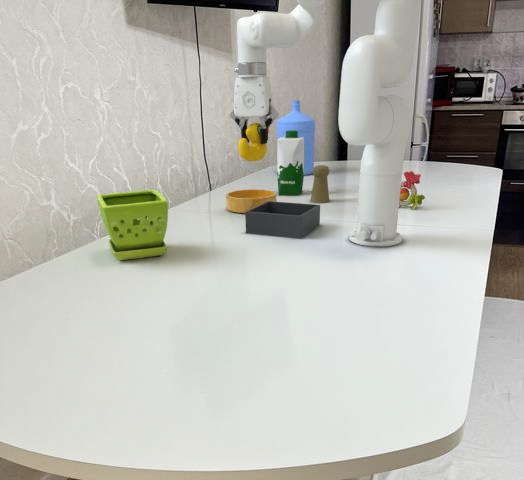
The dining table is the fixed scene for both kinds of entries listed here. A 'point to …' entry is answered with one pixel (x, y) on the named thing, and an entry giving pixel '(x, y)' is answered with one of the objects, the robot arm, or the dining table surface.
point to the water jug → (300, 132)
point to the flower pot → (135, 223)
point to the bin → (282, 219)
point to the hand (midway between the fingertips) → (254, 142)
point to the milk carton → (290, 163)
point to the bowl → (248, 199)
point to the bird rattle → (405, 193)
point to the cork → (320, 184)
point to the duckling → (252, 144)
